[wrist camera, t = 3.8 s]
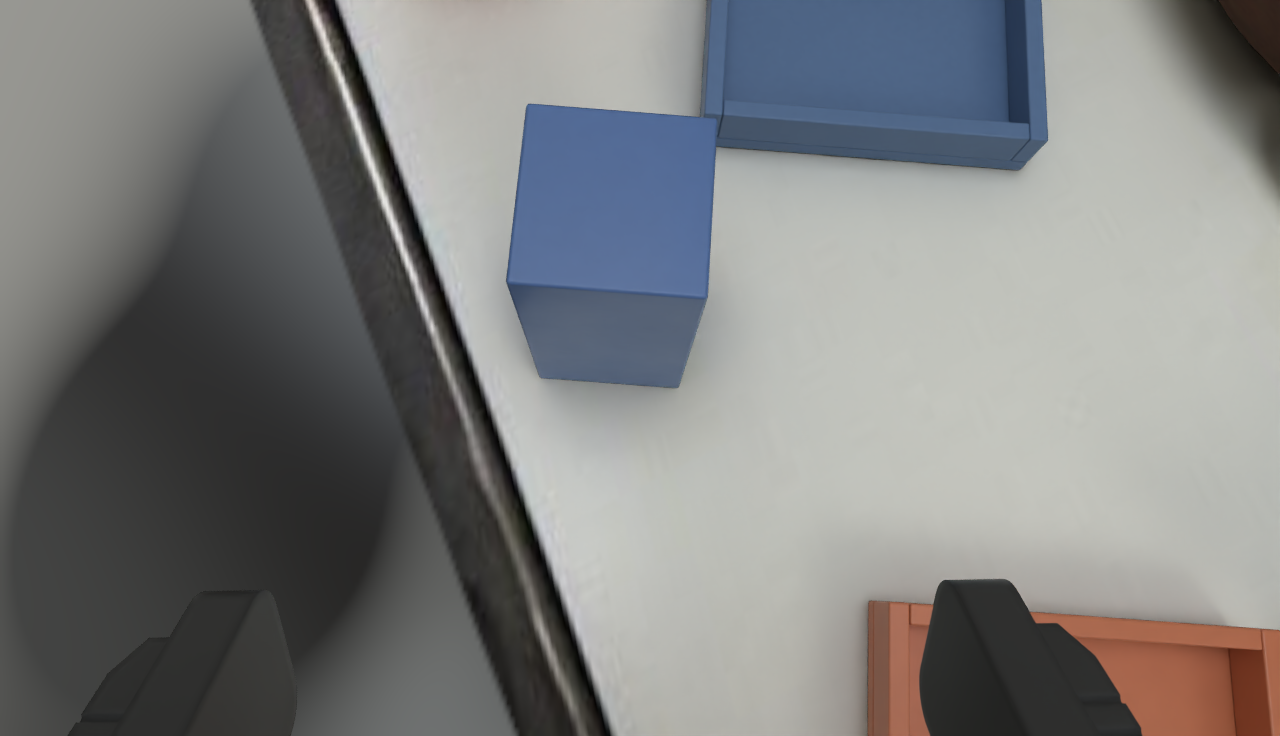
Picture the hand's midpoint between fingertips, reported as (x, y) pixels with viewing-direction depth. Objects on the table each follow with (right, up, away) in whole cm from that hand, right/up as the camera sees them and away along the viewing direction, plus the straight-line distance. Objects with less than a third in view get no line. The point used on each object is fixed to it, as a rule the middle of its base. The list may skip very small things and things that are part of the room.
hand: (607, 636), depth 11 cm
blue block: (0, +5, +18) cm, 19 cm away
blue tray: (+8, +16, +21) cm, 28 cm away
